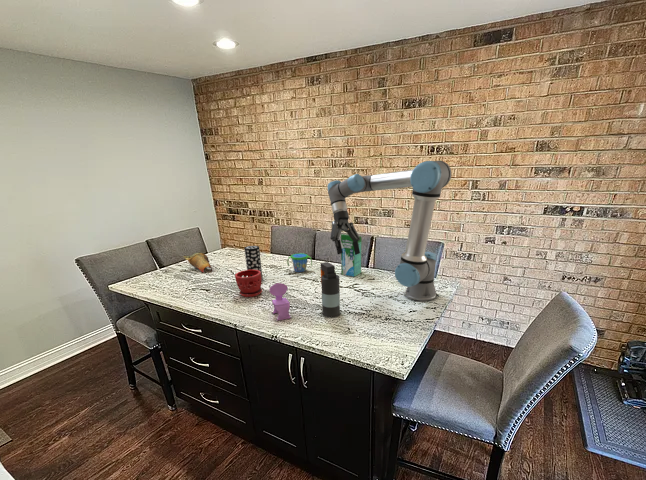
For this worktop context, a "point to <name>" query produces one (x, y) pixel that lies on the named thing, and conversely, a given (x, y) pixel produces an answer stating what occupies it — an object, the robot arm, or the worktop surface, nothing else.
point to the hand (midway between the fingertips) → (349, 253)
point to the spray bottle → (330, 291)
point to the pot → (198, 261)
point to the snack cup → (299, 261)
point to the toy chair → (280, 301)
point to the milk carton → (350, 257)
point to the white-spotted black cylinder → (253, 258)
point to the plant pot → (249, 282)
